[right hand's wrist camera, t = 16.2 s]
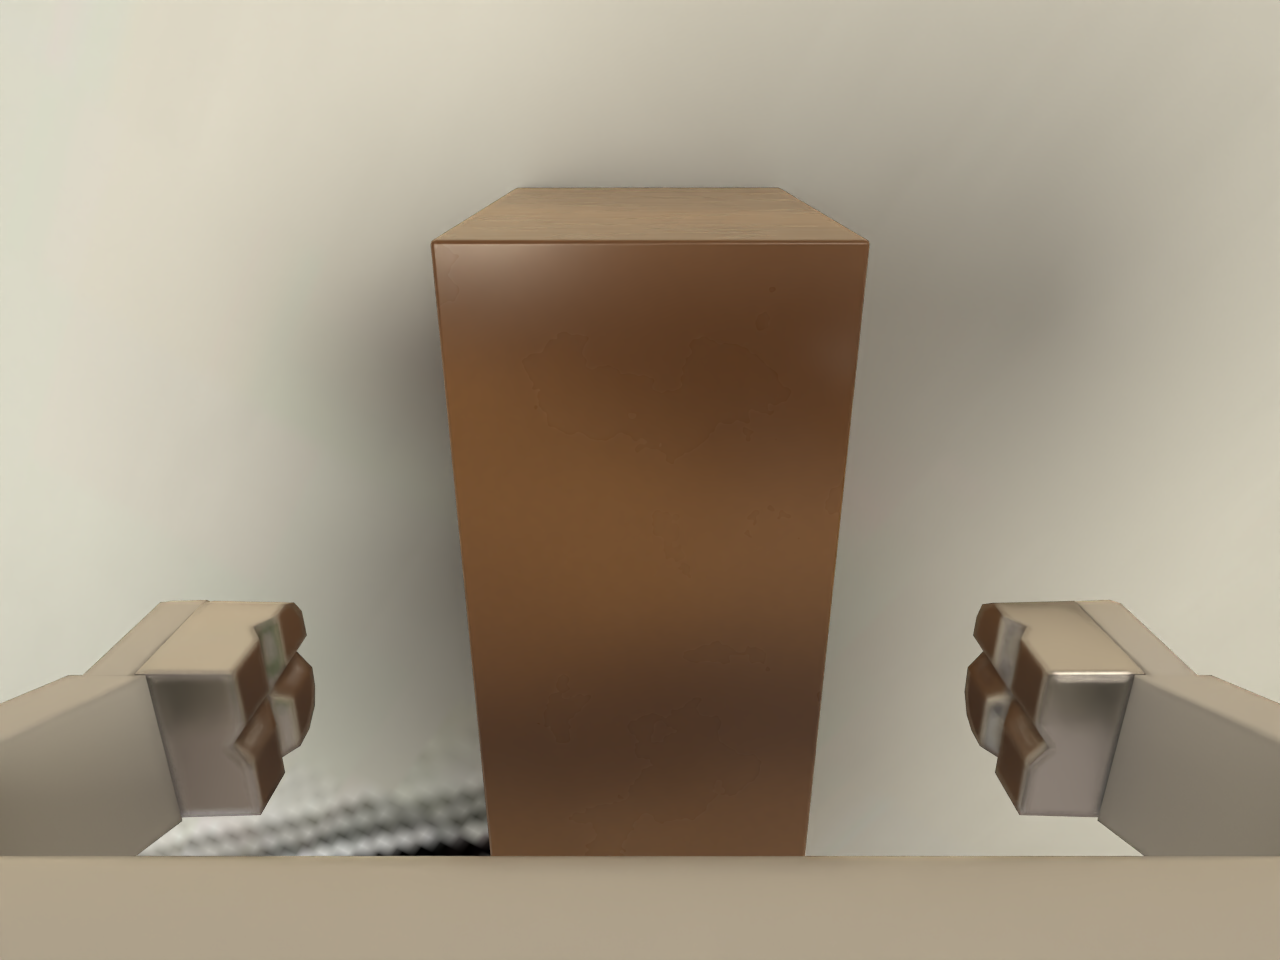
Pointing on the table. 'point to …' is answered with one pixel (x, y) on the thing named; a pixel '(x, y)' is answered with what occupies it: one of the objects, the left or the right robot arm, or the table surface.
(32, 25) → the table surface
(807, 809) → the box
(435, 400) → the table surface
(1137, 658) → the right robot arm
